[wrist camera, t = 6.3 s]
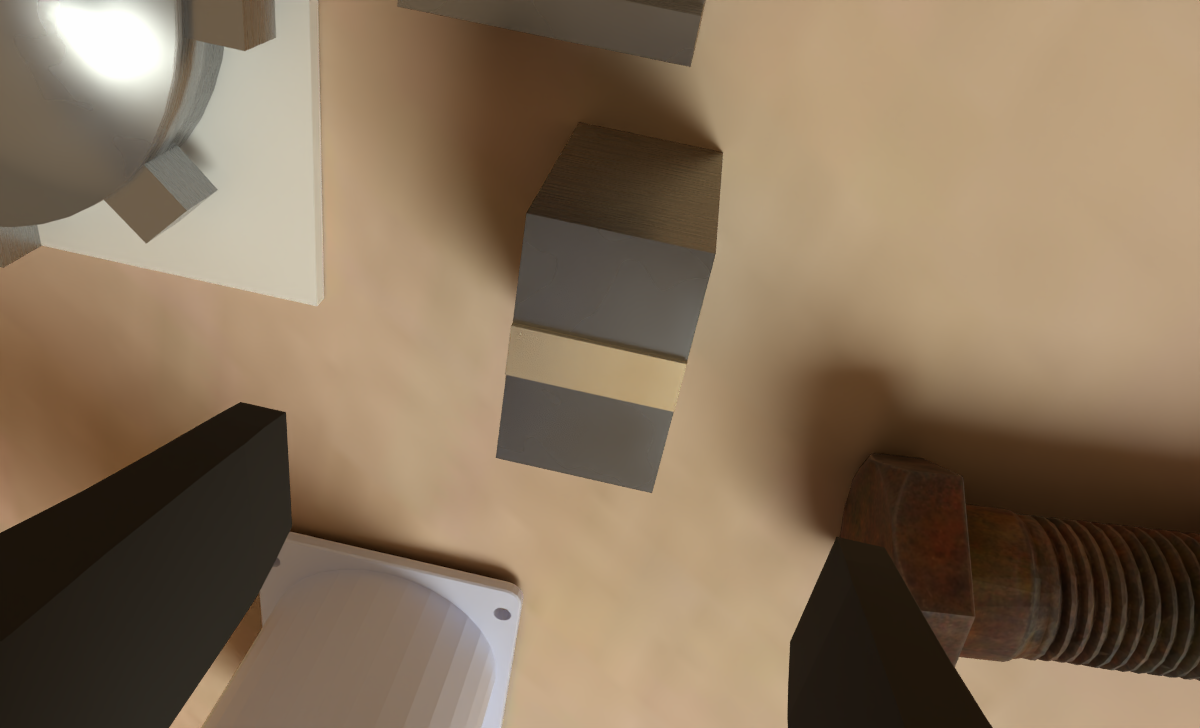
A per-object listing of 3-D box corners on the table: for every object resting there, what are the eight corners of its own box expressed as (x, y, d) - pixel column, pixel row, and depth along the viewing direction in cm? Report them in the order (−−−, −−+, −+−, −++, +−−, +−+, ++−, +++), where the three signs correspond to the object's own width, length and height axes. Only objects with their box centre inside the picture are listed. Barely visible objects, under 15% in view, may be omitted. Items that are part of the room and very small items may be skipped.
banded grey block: (671, 354, 20) (651, 497, 16) (548, 327, 20) (494, 461, 16) (722, 151, 17) (714, 257, 13) (580, 121, 17) (524, 215, 13)
